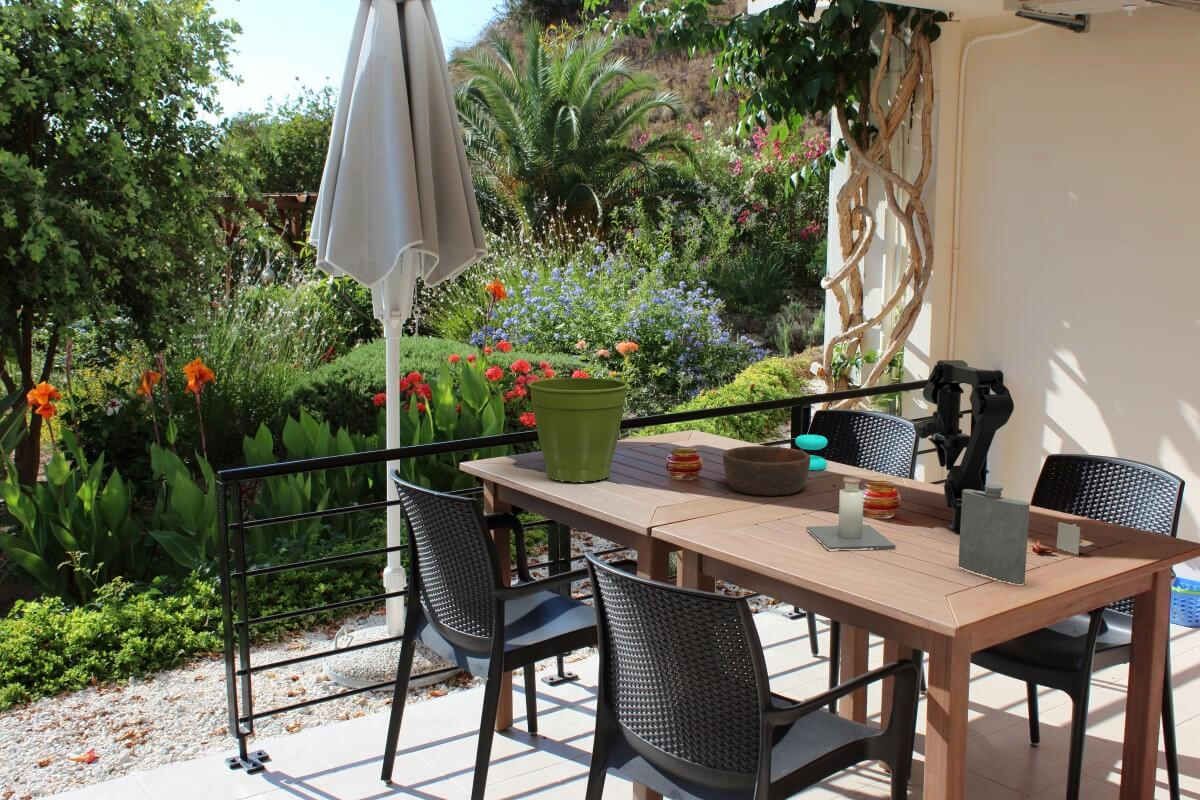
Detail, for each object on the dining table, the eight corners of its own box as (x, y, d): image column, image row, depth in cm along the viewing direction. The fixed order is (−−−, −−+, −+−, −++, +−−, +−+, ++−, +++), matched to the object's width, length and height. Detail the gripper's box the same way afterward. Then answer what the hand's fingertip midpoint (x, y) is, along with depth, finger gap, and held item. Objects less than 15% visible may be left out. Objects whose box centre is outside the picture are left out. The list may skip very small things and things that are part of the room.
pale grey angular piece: (1064, 550, 253) (1066, 520, 252) (1091, 558, 247) (1093, 526, 246) (1055, 553, 251) (1057, 522, 250) (1082, 560, 246) (1084, 528, 244)
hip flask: (1027, 584, 228) (1033, 491, 224) (1015, 587, 225) (1021, 494, 222) (964, 565, 241) (969, 477, 237) (952, 568, 238) (957, 479, 235)
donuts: (834, 436, 339) (814, 441, 332) (833, 468, 340) (814, 472, 333) (808, 432, 346) (788, 436, 339) (807, 463, 347) (788, 467, 341)
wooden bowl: (713, 495, 305) (714, 459, 304) (732, 476, 329) (732, 443, 327) (802, 502, 297) (803, 465, 296) (815, 482, 321) (816, 448, 319)
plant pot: (601, 492, 308) (601, 393, 303) (511, 482, 321) (510, 386, 316) (643, 472, 334) (643, 380, 330) (558, 463, 347) (557, 374, 343)
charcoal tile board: (895, 549, 252) (895, 545, 252) (828, 551, 251) (828, 547, 251) (869, 528, 270) (869, 524, 270) (806, 530, 268) (806, 526, 268)
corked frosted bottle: (865, 538, 258) (867, 481, 256) (842, 539, 257) (844, 481, 255) (857, 532, 263) (859, 475, 261) (835, 532, 263) (836, 476, 261)
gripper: (904, 403, 285) (901, 461, 288) (932, 415, 267) (929, 477, 269) (945, 403, 286) (942, 460, 289) (976, 414, 268) (972, 476, 270)
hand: (945, 468), depth 279 cm, fingers open, 4 cm apart
